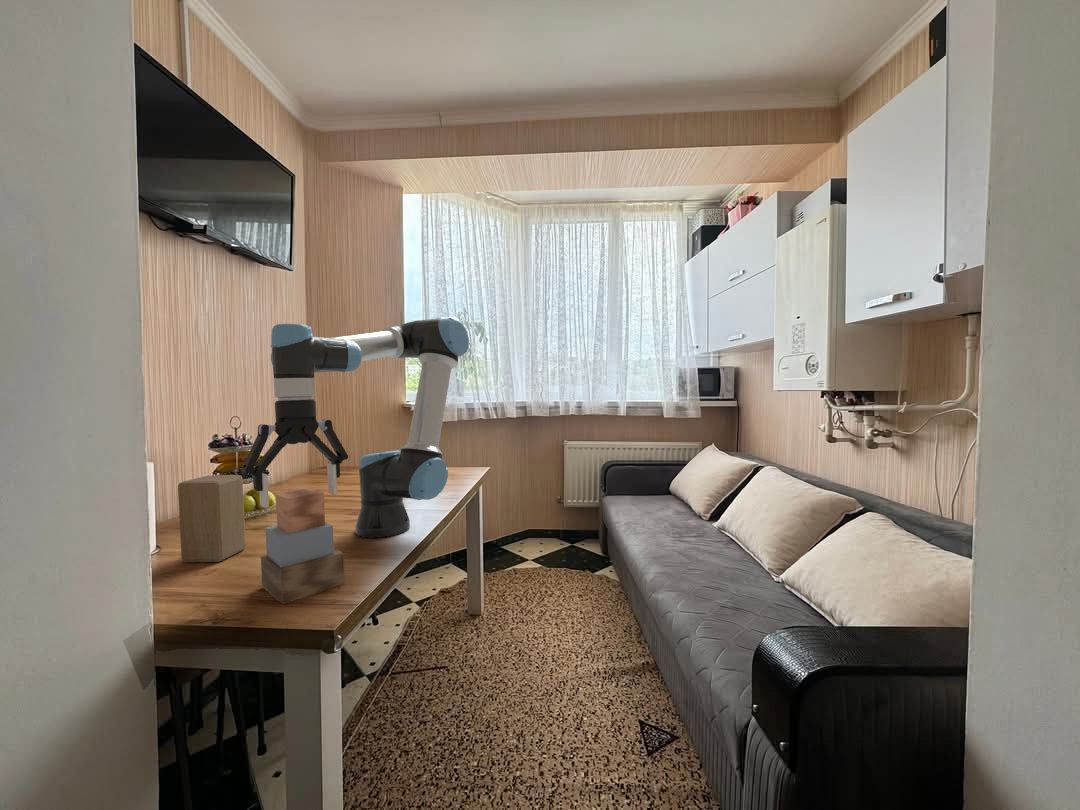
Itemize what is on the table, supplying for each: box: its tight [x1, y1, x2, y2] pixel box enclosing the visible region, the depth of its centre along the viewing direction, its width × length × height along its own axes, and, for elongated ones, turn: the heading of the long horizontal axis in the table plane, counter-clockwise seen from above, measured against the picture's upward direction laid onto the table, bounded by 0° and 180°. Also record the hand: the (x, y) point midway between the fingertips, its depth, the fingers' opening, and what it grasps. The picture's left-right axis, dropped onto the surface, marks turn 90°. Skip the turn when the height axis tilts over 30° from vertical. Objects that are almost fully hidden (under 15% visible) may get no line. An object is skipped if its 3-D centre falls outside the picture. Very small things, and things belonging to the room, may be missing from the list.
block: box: [177, 474, 246, 563], centre depth 115 cm, size 10×10×20 cm
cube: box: [275, 487, 326, 533], centre depth 95 cm, size 7×7×7 cm
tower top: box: [265, 521, 335, 568], centre depth 95 cm, size 10×10×6 cm
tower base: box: [260, 547, 345, 605], centre depth 96 cm, size 12×12×7 cm
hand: (300, 499), depth 95 cm, fingers open, 13 cm apart
